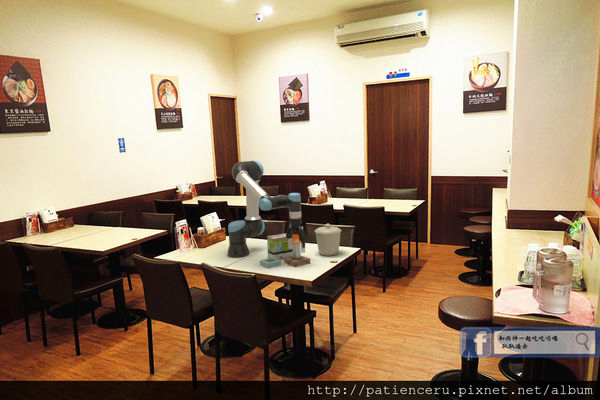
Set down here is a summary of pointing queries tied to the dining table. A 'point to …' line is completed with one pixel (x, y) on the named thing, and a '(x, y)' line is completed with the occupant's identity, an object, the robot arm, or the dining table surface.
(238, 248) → the robot arm
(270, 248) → the tea box
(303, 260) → the tray
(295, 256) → the lock pin
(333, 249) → the canister
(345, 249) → the dining table surface
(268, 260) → the mount
